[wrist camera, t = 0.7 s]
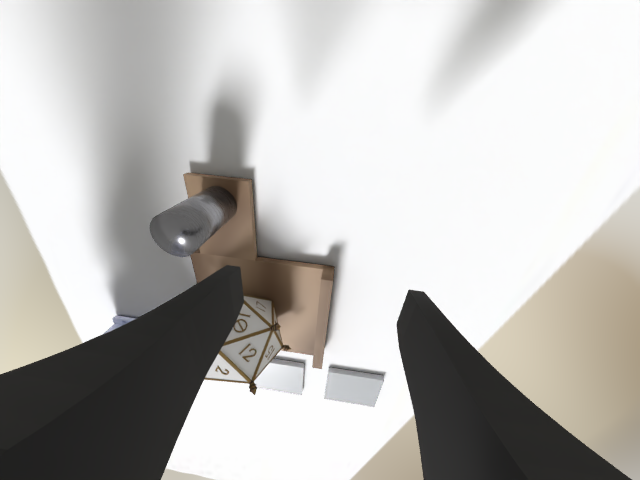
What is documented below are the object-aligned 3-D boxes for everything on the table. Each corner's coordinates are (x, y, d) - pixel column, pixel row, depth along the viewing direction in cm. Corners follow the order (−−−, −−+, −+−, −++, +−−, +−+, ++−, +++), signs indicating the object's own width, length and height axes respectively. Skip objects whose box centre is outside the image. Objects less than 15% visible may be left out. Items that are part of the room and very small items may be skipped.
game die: (258, 293, 28) (184, 366, 23) (236, 247, 22) (127, 333, 17) (317, 336, 24) (243, 437, 19) (309, 295, 18) (197, 428, 13)
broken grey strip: (255, 382, 32) (253, 387, 31) (252, 355, 29) (250, 359, 28) (373, 401, 31) (374, 406, 30) (383, 375, 28) (383, 380, 27)
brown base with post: (213, 335, 27) (181, 388, 22) (175, 171, 18) (104, 196, 13) (323, 351, 26) (317, 411, 21) (344, 189, 17) (341, 224, 12)
